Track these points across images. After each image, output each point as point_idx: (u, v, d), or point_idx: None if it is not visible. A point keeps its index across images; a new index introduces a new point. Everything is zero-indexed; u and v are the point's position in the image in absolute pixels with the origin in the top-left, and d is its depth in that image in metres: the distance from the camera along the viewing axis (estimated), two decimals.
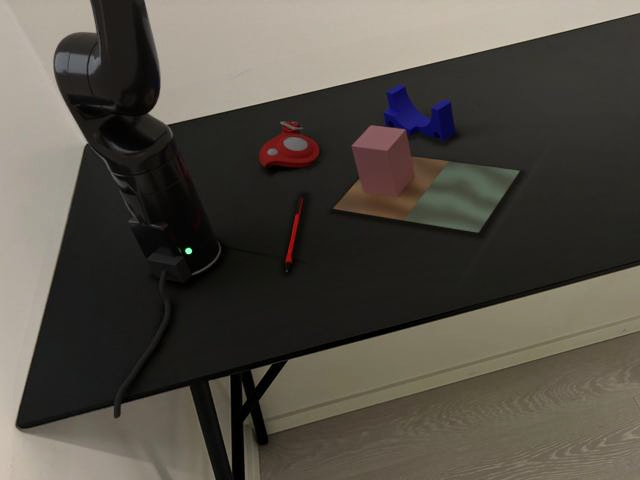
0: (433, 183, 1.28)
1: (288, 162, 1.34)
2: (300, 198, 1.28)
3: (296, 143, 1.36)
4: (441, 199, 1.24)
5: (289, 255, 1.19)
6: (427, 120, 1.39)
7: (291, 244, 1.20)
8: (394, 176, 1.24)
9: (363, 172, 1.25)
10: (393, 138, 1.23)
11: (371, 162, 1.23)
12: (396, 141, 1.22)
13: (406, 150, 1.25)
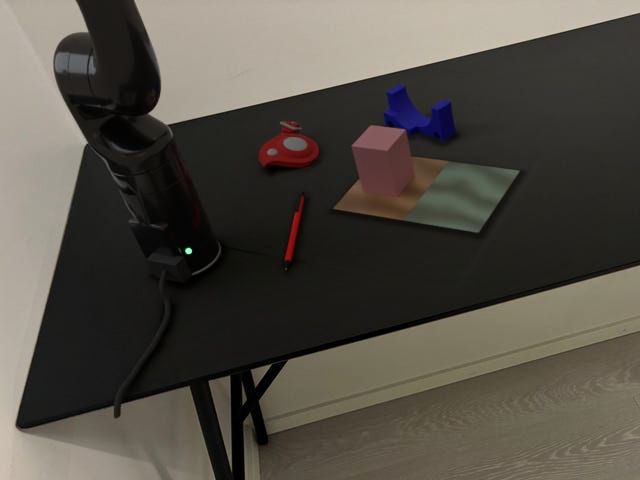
0: (433, 183, 1.28)
1: (288, 162, 1.34)
2: (300, 196, 1.28)
3: (296, 143, 1.36)
4: (441, 199, 1.24)
5: (288, 253, 1.18)
6: (427, 120, 1.39)
7: (291, 242, 1.20)
8: (394, 176, 1.24)
9: (363, 172, 1.25)
10: (393, 138, 1.23)
11: (371, 162, 1.23)
12: (396, 141, 1.22)
13: (406, 150, 1.25)
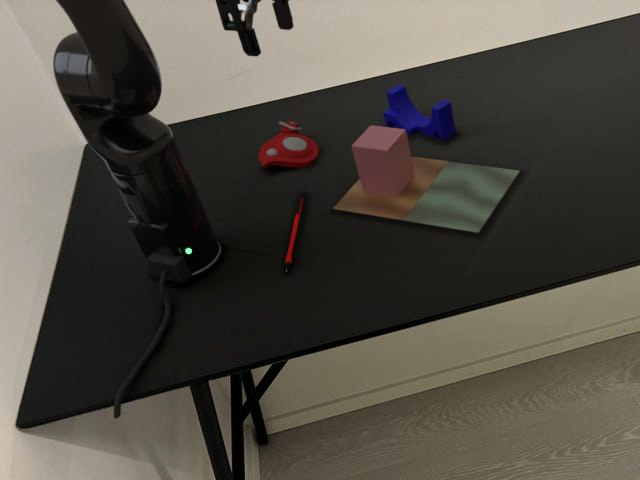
0: (433, 183, 1.28)
1: (288, 162, 1.34)
2: (300, 198, 1.28)
3: (295, 143, 1.36)
4: (441, 199, 1.24)
5: (289, 255, 1.19)
6: (427, 121, 1.39)
7: (291, 244, 1.20)
8: (394, 176, 1.24)
9: (363, 172, 1.25)
10: (393, 138, 1.23)
11: (371, 162, 1.23)
12: (396, 141, 1.22)
13: (406, 150, 1.25)
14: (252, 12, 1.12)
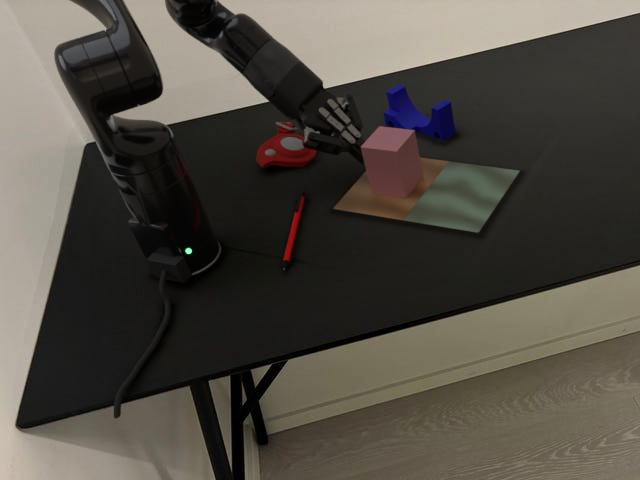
0: (433, 183, 1.28)
1: (286, 162, 1.34)
2: (300, 196, 1.28)
3: (293, 143, 1.36)
4: (441, 199, 1.24)
5: (287, 253, 1.18)
6: (427, 121, 1.39)
7: (290, 243, 1.20)
8: (403, 177, 1.23)
9: (372, 173, 1.25)
10: (402, 138, 1.22)
11: (380, 163, 1.23)
12: (405, 142, 1.22)
13: (415, 151, 1.25)
14: (343, 130, 1.24)
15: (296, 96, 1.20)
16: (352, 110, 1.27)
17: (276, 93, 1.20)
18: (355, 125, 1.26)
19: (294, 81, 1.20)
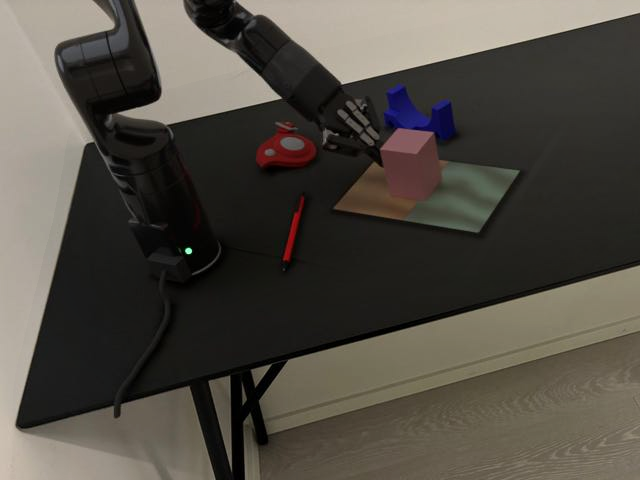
0: None
1: (286, 162, 1.34)
2: (300, 196, 1.28)
3: (293, 143, 1.36)
4: (441, 199, 1.24)
5: (287, 253, 1.18)
6: (427, 120, 1.39)
7: (289, 243, 1.20)
8: (423, 180, 1.22)
9: (391, 176, 1.24)
10: (421, 141, 1.21)
11: (400, 166, 1.22)
12: (425, 144, 1.21)
13: (434, 153, 1.24)
14: (361, 133, 1.23)
15: (315, 98, 1.19)
16: (370, 112, 1.26)
17: (295, 95, 1.19)
18: (373, 127, 1.25)
19: (313, 83, 1.19)
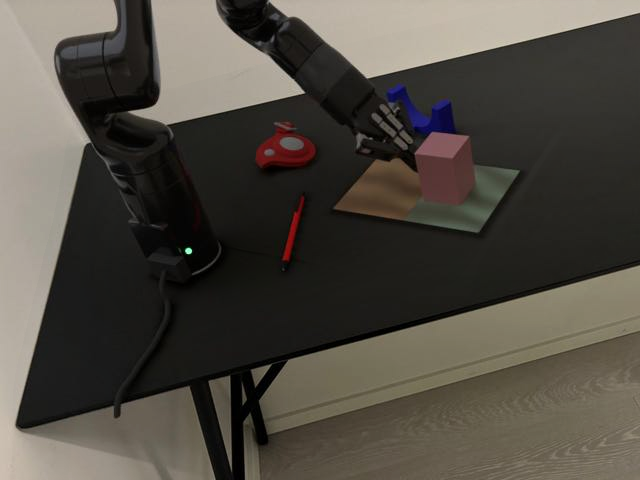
0: None
1: (286, 162, 1.34)
2: (300, 196, 1.28)
3: (292, 143, 1.36)
4: None
5: (286, 253, 1.18)
6: (427, 121, 1.39)
7: (289, 242, 1.20)
8: (458, 184, 1.20)
9: (425, 180, 1.22)
10: (456, 145, 1.19)
11: (434, 170, 1.20)
12: (460, 148, 1.19)
13: (469, 157, 1.22)
14: (395, 137, 1.21)
15: (349, 101, 1.17)
16: (403, 116, 1.24)
17: (328, 98, 1.17)
18: (407, 131, 1.23)
19: (347, 86, 1.17)
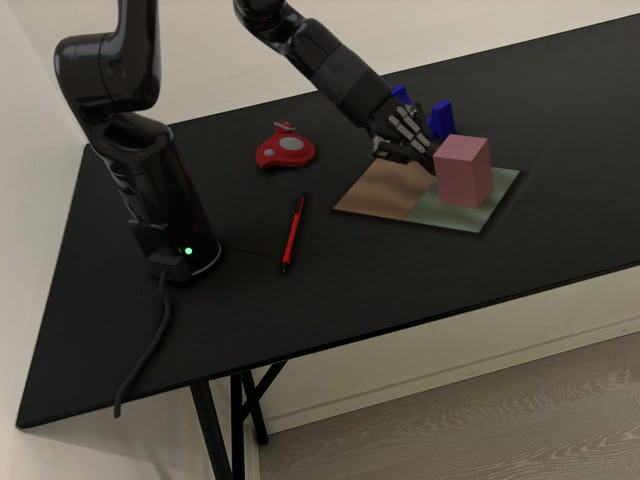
0: (433, 183, 1.28)
1: (286, 162, 1.34)
2: (300, 198, 1.28)
3: (292, 143, 1.36)
4: None
5: (287, 255, 1.19)
6: (427, 120, 1.39)
7: (289, 244, 1.20)
8: (476, 187, 1.19)
9: (443, 183, 1.21)
10: (475, 147, 1.18)
11: (453, 173, 1.19)
12: (479, 151, 1.18)
13: (487, 160, 1.21)
14: (412, 139, 1.20)
15: (366, 104, 1.16)
16: (421, 118, 1.23)
17: (346, 101, 1.16)
18: (424, 134, 1.22)
19: (364, 88, 1.16)
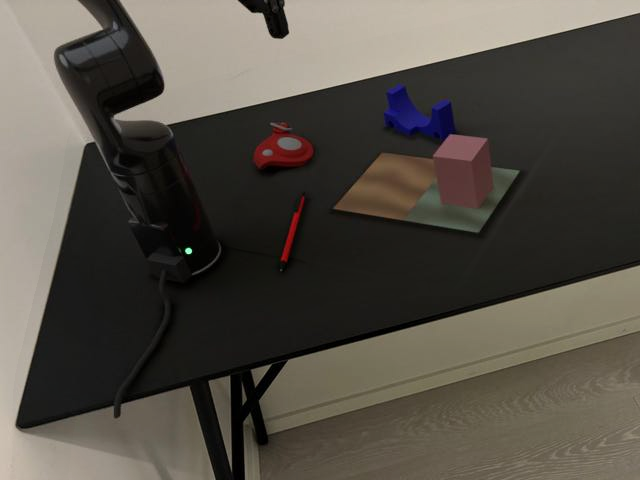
0: (433, 183, 1.28)
1: (285, 162, 1.34)
2: (300, 196, 1.28)
3: (290, 142, 1.36)
4: None
5: (285, 254, 1.18)
6: (427, 120, 1.39)
7: (288, 243, 1.20)
8: (476, 187, 1.19)
9: (443, 183, 1.21)
10: (475, 147, 1.18)
11: (453, 173, 1.19)
12: (479, 151, 1.18)
13: (487, 160, 1.21)
14: None
15: None
16: None
17: None
18: None
19: None
